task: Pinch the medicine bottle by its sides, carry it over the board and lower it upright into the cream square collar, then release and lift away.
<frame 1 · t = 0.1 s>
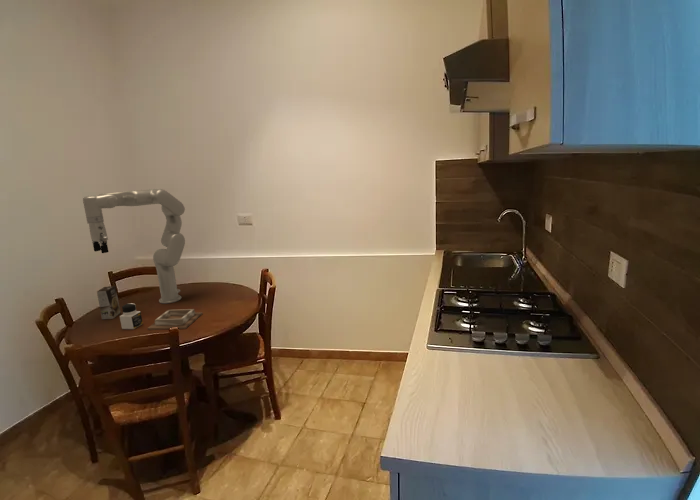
hand: (101, 251, 230), 37 cm above the table, tool pointing down, fingers open, 9 cm apart
collar board: (176, 321, 226), on the table
coffee box: (111, 316, 241), on the table
medicine bottle: (132, 326, 223), on the table
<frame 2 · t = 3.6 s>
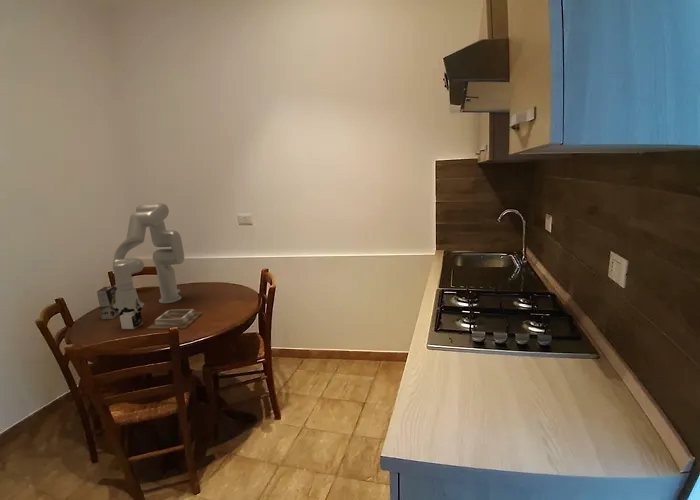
hand: (131, 319, 223), 4 cm above the table, tool pointing down, fingers closed on medicine bottle, 7 cm apart
medicine bottle: (132, 326, 223), on the table, touching gripper
everything else where it was.
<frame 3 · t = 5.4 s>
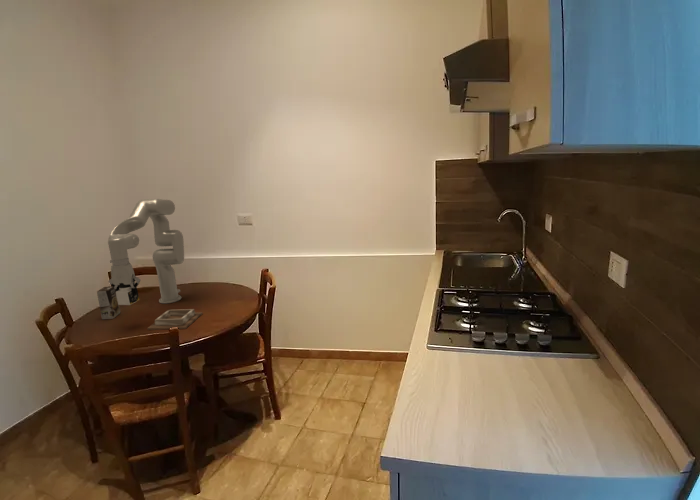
hand: (127, 295, 220), 17 cm above the table, tool pointing down, fingers closed on medicine bottle, 7 cm apart
medicine bottle: (129, 302, 221), point 13 cm above the table, touching gripper
everything else where it was.
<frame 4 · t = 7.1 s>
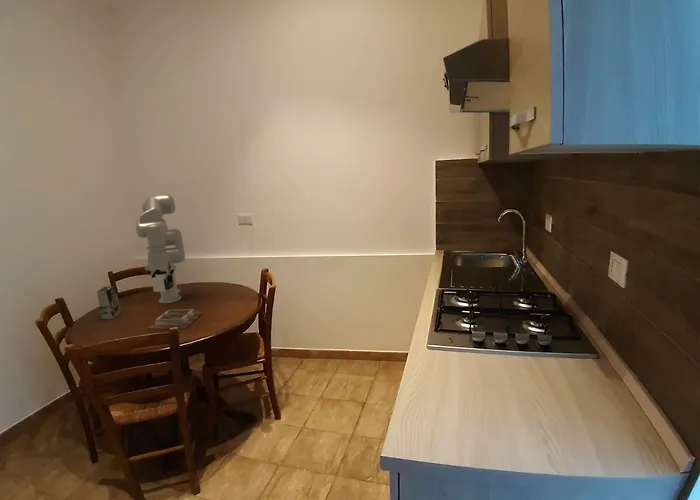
hand: (163, 282, 221), 22 cm above the table, tool pointing down, fingers closed on medicine bottle, 7 cm apart
medicine bottle: (164, 290, 222), point 18 cm above the table, touching gripper
everything else where it was.
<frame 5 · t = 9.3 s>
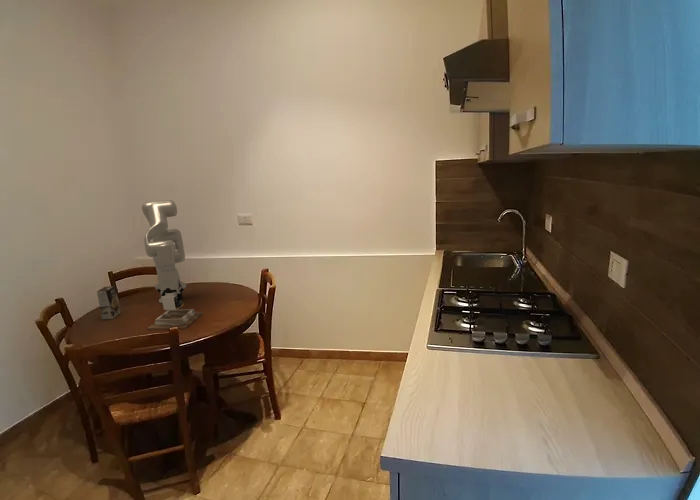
hand: (172, 300, 224), 12 cm above the table, tool pointing down, fingers closed on medicine bottle, 7 cm apart
medicine bottle: (173, 308, 224), point 8 cm above the table, touching gripper
everything else where it was.
when the fingers open (7 cm above the table, at t = 10.9 s): medicine bottle drops 2 cm, resting on collar board.
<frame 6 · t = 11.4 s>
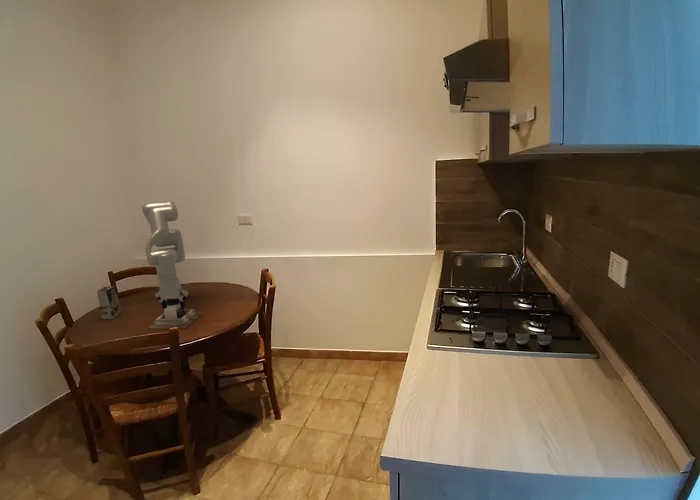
hand: (174, 308, 225), 7 cm above the table, tool pointing down, fingers open, 9 cm apart
medicine bottle: (175, 320, 226), point 1 cm above the table, touching collar board
everything else where it was.
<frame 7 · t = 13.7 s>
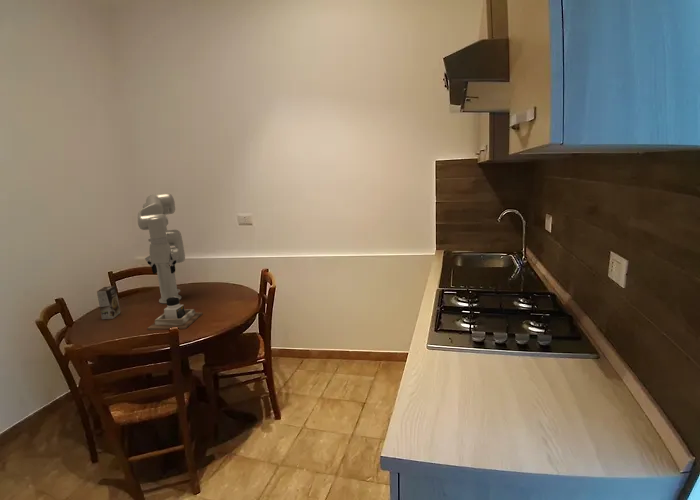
hand: (164, 272, 225), 25 cm above the table, tool pointing down, fingers open, 9 cm apart
nothing on the table moved.
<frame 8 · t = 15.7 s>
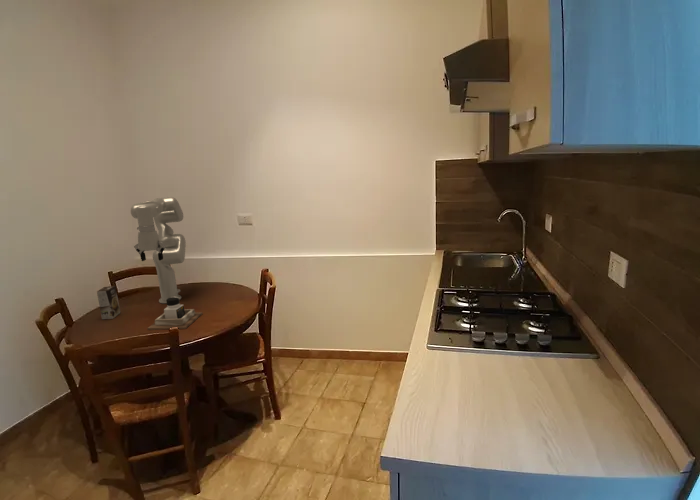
hand: (152, 260, 234), 30 cm above the table, tool pointing down, fingers open, 9 cm apart
nothing on the table moved.
at the end: medicine bottle 0.1 cm off-centre on the collar board, point 0.8 cm above the collar board's base; medicine bottle tilted 0°; the gripper is holding nothing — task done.
